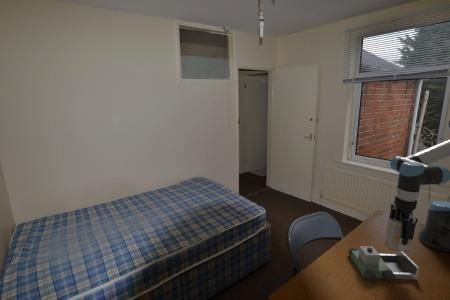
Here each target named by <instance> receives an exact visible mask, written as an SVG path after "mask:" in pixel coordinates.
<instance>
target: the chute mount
mask: <svg viewBox="0 0 450 300" xmlns="http://www.w3.org/2000/svg"><path fill="white" fill-rule="evenodd" d="M379 254H380V258H381V259H382V260H383V261H384V262H385V263H386V265H387V266H388V267H389V268H390V269H391V271H392V272H393V273H394V274H395V279H394V280H410V281H411V280H412V281H414V280H418V277H419V272H420V267H419V266H418V265H417V264H416V263H415V262H414V261H413V260H412V259H411V258H410V256H408V255H407V254H406V253H405V251H395V254H394V253H379Z"/></svg>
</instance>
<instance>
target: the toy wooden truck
mask: <svg viewBox="0 0 450 300" xmlns="http://www.w3.org/2000/svg"><path fill="white" fill-rule="evenodd" d="M347 252H348V254H349V256H350V258H351V260H352V262H353V263H354V265H355V266H356V268H357V269H358V271H359V272H360V273H361V275H362V277H363V278H365V280H366V281H369V282H371V281H373V280H376V279H384V280H385V281H386V282H393V281H395V280H396V279H395V274H394V273H393V272H392V271H391V269H390V268H389V267H388V266H387V265H386V263H385V262H384V261H383V260H382V259H381V258H380V254H381V253H379V252H378V251H377V249H376V248H375V247H374V246H371V245H370V246H367V245H365V246H364V245H362V246H361V245H360V246H359V248H358V249H357V248H356V247H350V248H349V249H348V251H347Z"/></svg>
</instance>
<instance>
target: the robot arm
mask: <svg viewBox="0 0 450 300" xmlns="http://www.w3.org/2000/svg"><path fill="white" fill-rule="evenodd" d="M447 159H450V139H448V140H445V141H443V142H440V143H438V144H435V145H433V146H430V147H428V148H425V149H422V150H421V151H418V152H414V153H413V154H410V155H408V156H400V155H398V156H395V157H393V158H392V159H391V160H390V163H389V164H390V165H389V166H390V168H391V169H392V170H393V171H395V172H397V173H398V179H397V184H396V190H395V191H396V192H395V196H394V199H393V200H394V201H393V203H391V204H390V212H389V216H388V220H389V219H395V220H400V221H401V222H402V236H400V239H399V245H398V250H404V251H403V252H405V249H406V245H407V243H408V239H410V240H414V236H415V230H416V225H417V223H418V222H419V220H418V218H415V217H414V216H413V215H414V214H413V213H414V212H413V211H414V210H416V209H417V204H418V199H419V195H420V190H421V186H427V185H428V186H429V185H442V184H446V183H448V182H449V181H450V170H449V169H448V168H447V167H445V166H443V165H435V164H438V163H440V162H443V161H444V160H447ZM427 208H428V209H427V214H426V220H425V225H424V226H423V228H422V229H421V231H419V233H418V237H417V238H418V240H419V241H420V242H421V243H422V244H424V245H425V246H427V247H429V248H430V249H434V250H435V251H436V250H437V251H439V252H445V253H450V201H443V200H441V201H440V200H436V201H435V200H434V201H431V202H430V204H429V207H427Z"/></svg>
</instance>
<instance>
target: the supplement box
mask: <svg viewBox="0 0 450 300" xmlns="http://www.w3.org/2000/svg"><path fill="white" fill-rule="evenodd" d="M385 232H386V233H385V239H384V245H385V246H386V248H387V249H388V250H389V251H395V252H396V251H403V252H404V253H405V252H407V253H410V250H411V245H412V240H410V239H408V243H407V245H406V249H405V251H404V250H398V245H399V239H400V236H402V222H401V221H400V220H395V219H389V218H388V219H387V227H386V231H385Z"/></svg>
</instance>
